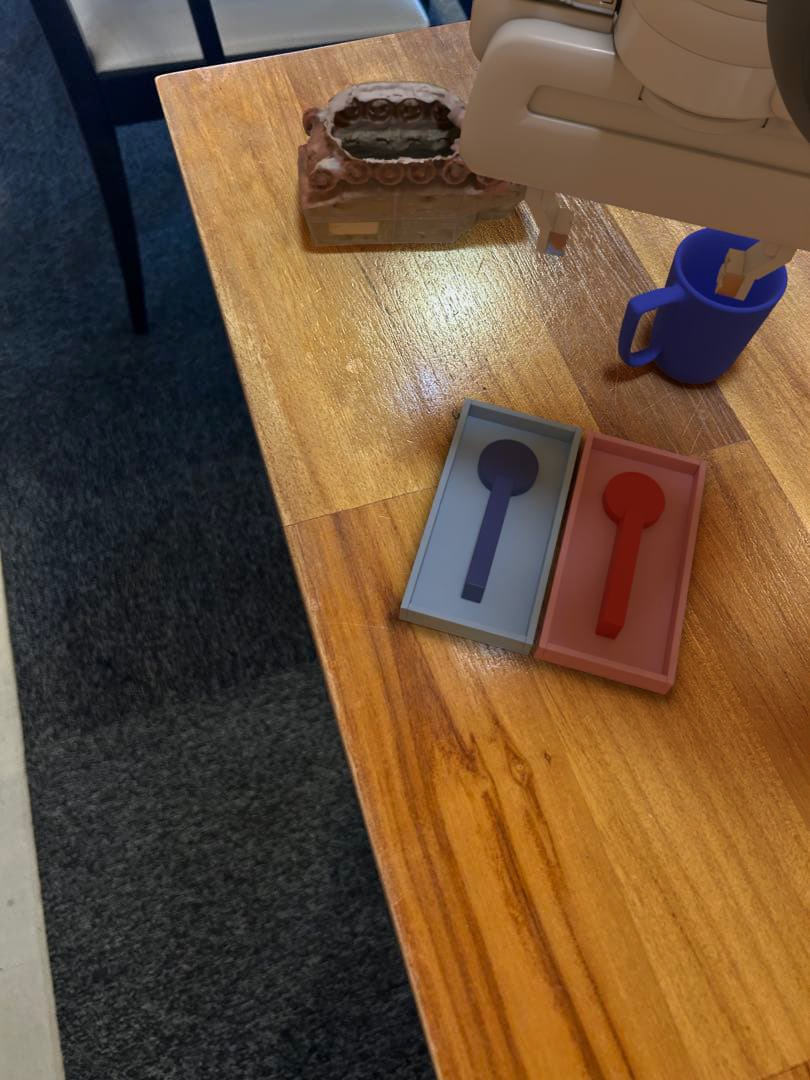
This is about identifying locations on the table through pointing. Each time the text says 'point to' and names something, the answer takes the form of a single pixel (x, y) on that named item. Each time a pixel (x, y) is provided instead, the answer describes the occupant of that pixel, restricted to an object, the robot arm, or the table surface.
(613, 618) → the red spoon
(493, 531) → the blue spoon
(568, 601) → the pink tray
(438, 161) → the decorative box
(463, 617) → the blue tray
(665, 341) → the mug
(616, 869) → the table surface
